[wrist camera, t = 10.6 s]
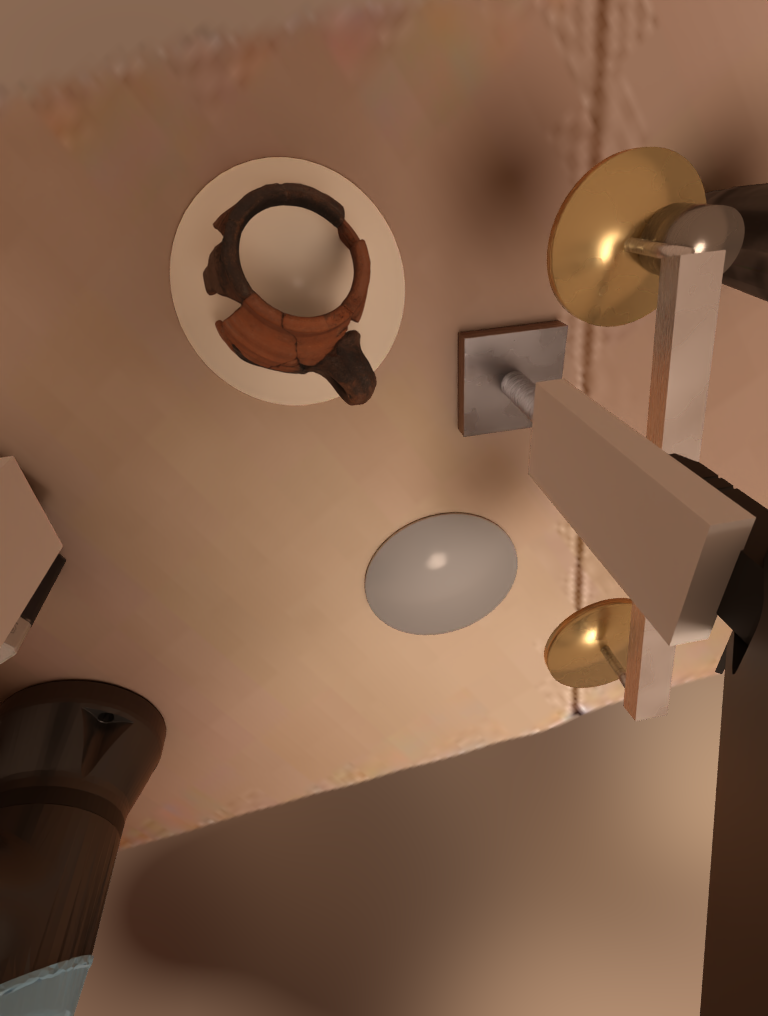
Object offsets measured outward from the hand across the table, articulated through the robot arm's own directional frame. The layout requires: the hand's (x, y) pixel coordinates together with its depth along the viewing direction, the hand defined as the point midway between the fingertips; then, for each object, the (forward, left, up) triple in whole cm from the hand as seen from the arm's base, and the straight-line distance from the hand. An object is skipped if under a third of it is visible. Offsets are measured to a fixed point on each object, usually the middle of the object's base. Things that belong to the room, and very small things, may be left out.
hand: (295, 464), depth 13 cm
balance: (+14, -7, -22) cm, 27 cm away
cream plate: (0, 0, -22) cm, 22 cm away
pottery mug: (0, 0, -22) cm, 22 cm away
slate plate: (+9, -25, -22) cm, 34 cm away
